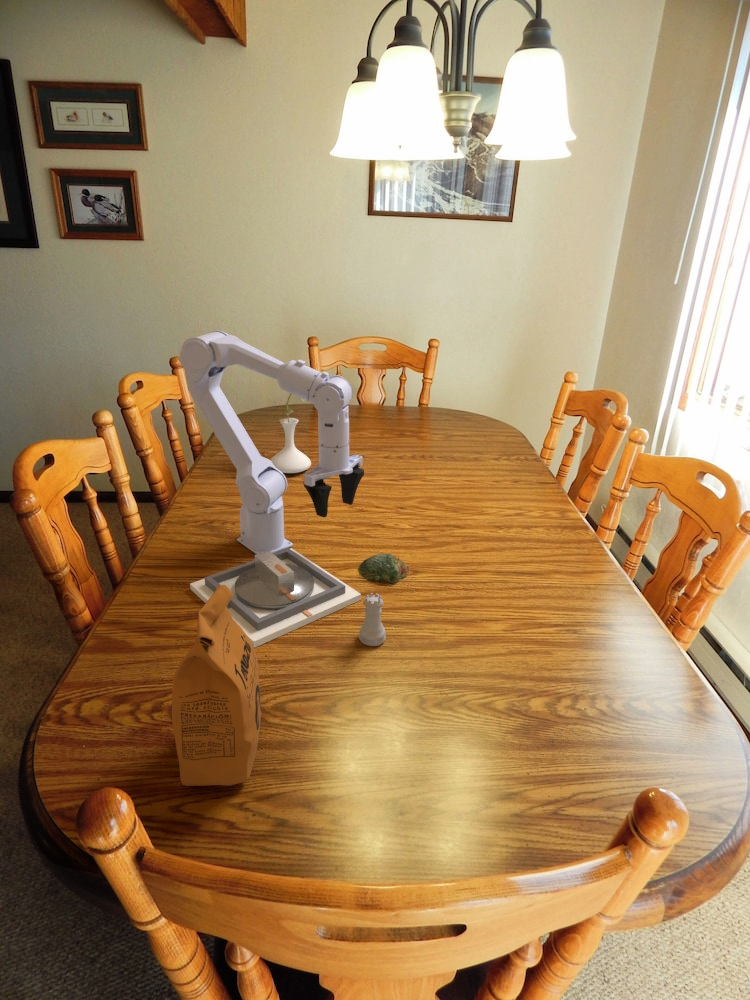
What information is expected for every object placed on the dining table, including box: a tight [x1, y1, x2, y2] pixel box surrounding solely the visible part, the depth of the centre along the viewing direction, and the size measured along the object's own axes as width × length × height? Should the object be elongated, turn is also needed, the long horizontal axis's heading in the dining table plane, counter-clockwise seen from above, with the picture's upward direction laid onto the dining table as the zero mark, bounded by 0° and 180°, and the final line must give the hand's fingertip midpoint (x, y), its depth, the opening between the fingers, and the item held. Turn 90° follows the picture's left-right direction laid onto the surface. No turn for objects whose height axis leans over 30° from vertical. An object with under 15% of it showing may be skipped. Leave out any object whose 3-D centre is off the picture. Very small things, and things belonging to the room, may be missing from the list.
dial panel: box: [189, 547, 362, 649], centre depth 112 cm, size 22×22×3 cm
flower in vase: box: [270, 393, 312, 474], centre depth 165 cm, size 13×11×25 cm
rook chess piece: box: [358, 592, 387, 647], centre depth 100 cm, size 4×4×8 cm
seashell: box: [358, 553, 411, 585], centre depth 121 cm, size 10×4×10 cm
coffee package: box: [171, 585, 262, 787], centre depth 74 cm, size 10×12×22 cm
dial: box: [235, 551, 314, 609], centre depth 111 cm, size 14×14×5 cm
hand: (335, 509), depth 122 cm, fingers open, 7 cm apart
